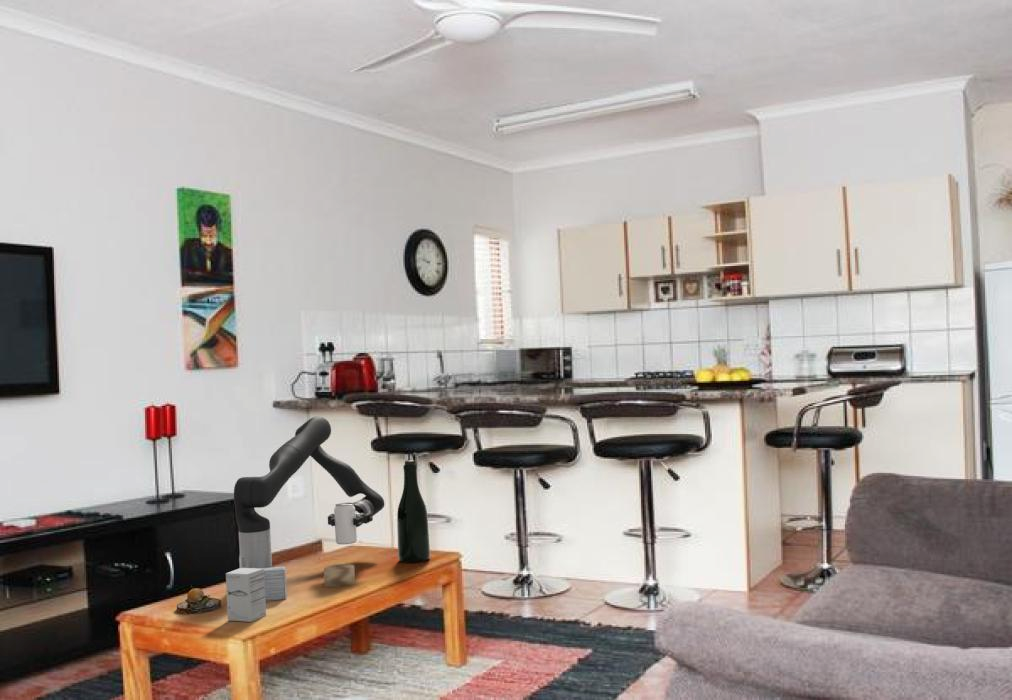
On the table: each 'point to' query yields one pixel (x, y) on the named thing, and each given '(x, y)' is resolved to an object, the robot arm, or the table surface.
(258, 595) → the supplement box
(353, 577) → the grey rounded block
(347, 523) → the can
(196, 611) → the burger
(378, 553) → the table surface
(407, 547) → the dark green wine bottle
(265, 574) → the medicine box
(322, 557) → the table surface
